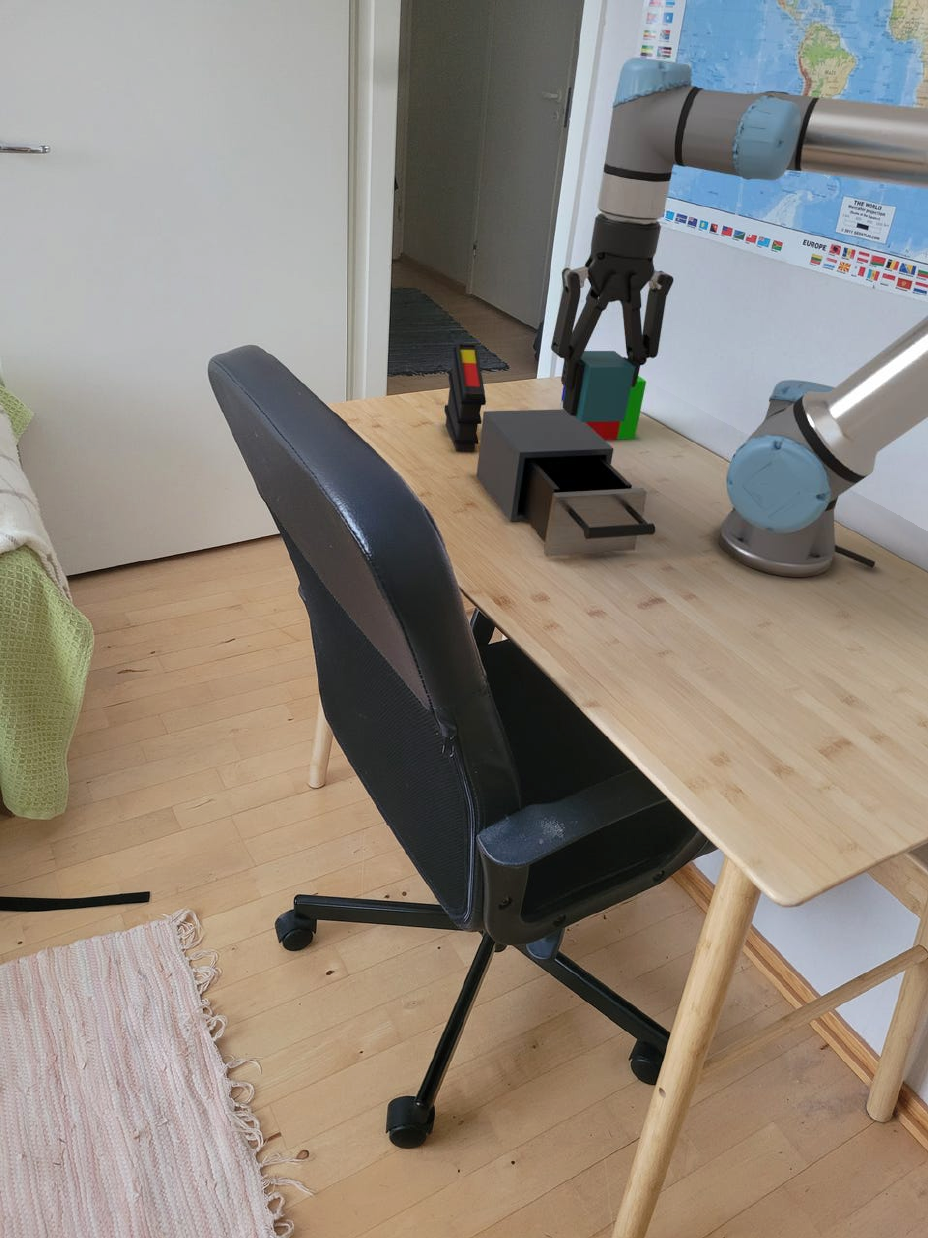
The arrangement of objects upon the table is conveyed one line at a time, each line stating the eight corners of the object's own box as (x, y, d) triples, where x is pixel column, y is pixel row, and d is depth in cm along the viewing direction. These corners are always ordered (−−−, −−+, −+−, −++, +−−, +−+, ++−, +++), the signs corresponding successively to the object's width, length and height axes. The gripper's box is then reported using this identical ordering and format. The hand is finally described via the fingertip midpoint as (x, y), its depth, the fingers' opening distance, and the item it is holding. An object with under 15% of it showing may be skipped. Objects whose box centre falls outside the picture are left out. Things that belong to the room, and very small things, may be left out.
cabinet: (600, 516, 135) (613, 448, 129) (510, 522, 131) (519, 452, 125) (560, 472, 147) (570, 408, 141) (476, 476, 142) (483, 411, 137)
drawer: (658, 574, 120) (672, 514, 116) (566, 582, 116) (577, 520, 112) (592, 504, 136) (602, 449, 131) (510, 509, 132) (517, 452, 127)
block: (604, 403, 124) (614, 350, 120) (624, 421, 119) (635, 366, 115) (562, 404, 122) (571, 350, 118) (580, 422, 117) (590, 366, 113)
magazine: (462, 410, 161) (478, 342, 148) (472, 470, 154) (489, 404, 141) (441, 409, 160) (454, 341, 147) (449, 470, 153) (464, 403, 141)
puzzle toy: (558, 418, 167) (567, 362, 161) (610, 416, 170) (620, 361, 164) (581, 440, 159) (591, 382, 153) (634, 438, 162) (646, 381, 156)
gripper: (686, 213, 114) (647, 399, 126) (539, 205, 108) (513, 401, 120) (718, 227, 108) (674, 421, 120) (564, 219, 102) (534, 423, 114)
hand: (593, 410), depth 120 cm, fingers closed on block, 6 cm apart
